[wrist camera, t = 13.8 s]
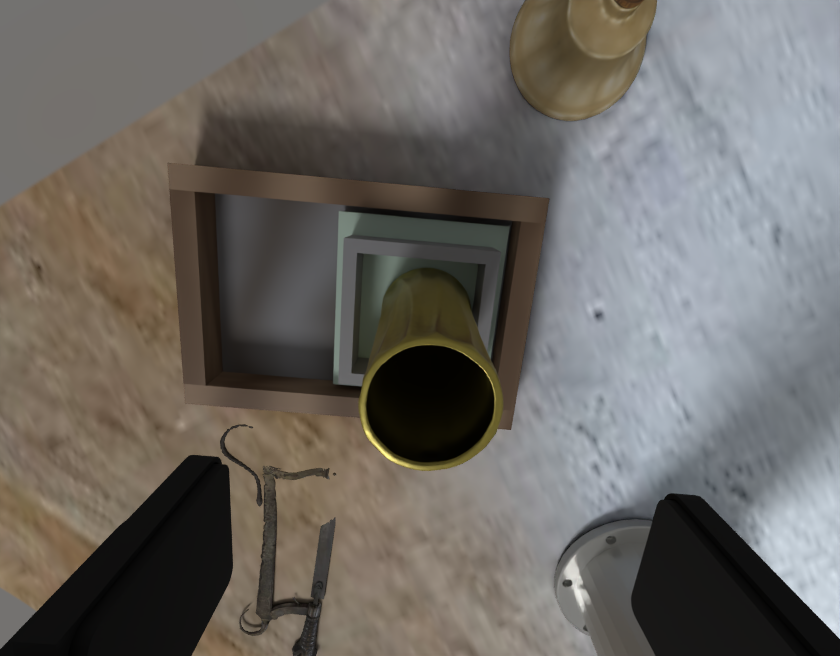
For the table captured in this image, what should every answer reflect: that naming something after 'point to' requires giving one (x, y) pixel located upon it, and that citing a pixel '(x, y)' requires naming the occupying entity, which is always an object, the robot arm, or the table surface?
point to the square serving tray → (397, 254)
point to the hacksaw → (306, 646)
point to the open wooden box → (310, 281)
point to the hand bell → (578, 53)
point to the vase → (429, 376)
